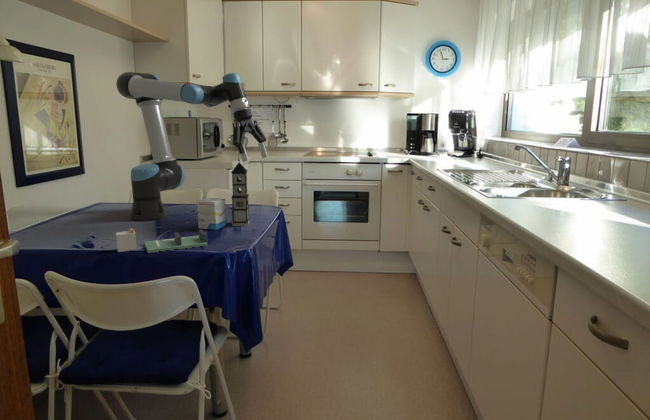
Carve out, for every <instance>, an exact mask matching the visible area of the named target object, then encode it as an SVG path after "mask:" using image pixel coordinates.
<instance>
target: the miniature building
mask: <svg viewBox="0 0 650 420" xmlns="http://www.w3.org/2000/svg"><path fill="white" fill-rule="evenodd" d="M237 161H238V163H237V164H236V166H235V167H234V168H233V170H232V171H231V172H230V173H231V181H232V195H231V201H232V205H231V206H232V207H231V208H232V209H231V226H232V227H249V225H250V217H249V215H250V212H249V211H250V210H249V208H250V207H249V195H250V194H249V193H248V179H247V178H248V177H247V176H248V174H247V173H248V170H247V169H246V167H244V166H243V165H242V164H241V162H240V161H241V159H240V158H238V159H237Z"/></svg>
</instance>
